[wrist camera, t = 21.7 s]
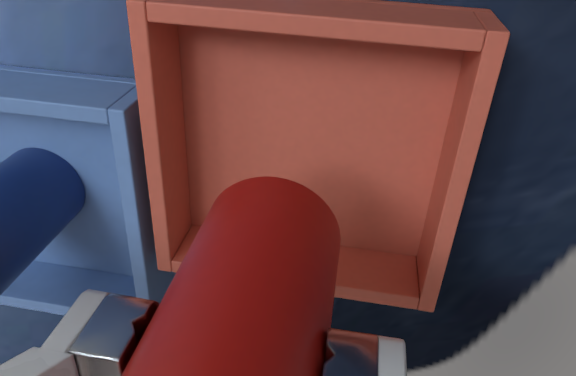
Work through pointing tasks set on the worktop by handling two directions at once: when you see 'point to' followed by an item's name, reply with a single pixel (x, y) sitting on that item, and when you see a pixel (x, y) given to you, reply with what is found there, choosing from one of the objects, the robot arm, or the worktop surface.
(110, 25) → the worktop surface
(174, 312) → the red peg
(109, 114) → the blue bin
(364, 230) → the red bin
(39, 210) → the blue peg
